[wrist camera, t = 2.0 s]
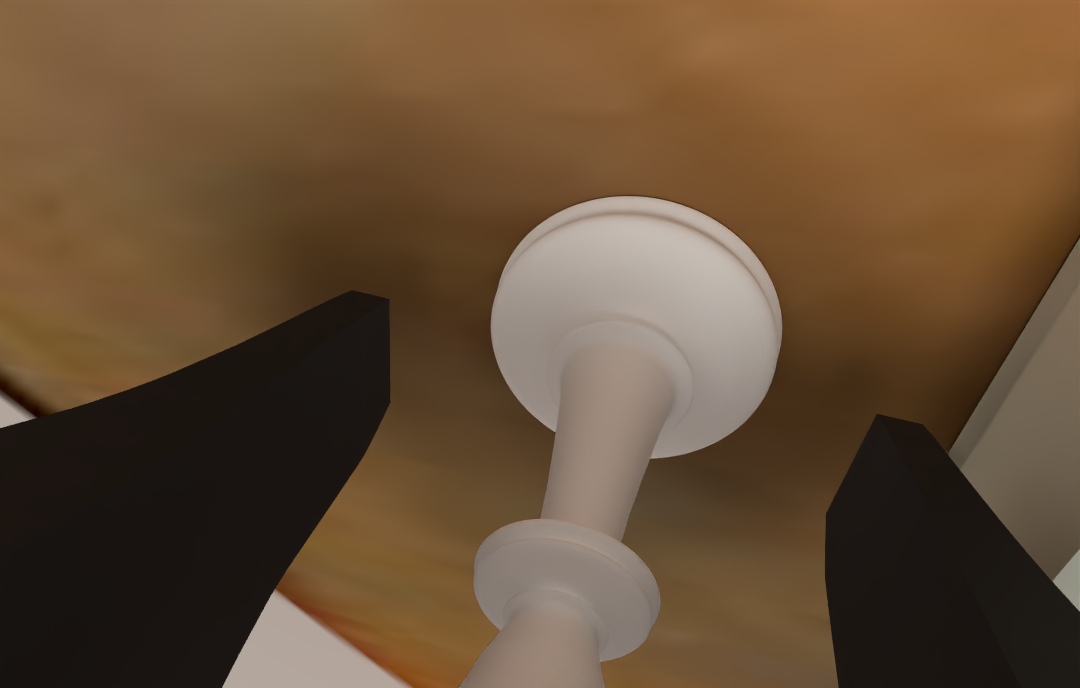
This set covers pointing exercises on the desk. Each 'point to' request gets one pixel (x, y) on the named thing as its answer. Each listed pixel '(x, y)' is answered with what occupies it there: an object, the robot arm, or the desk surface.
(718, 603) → the desk surface
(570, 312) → the chess piece
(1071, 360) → the box
